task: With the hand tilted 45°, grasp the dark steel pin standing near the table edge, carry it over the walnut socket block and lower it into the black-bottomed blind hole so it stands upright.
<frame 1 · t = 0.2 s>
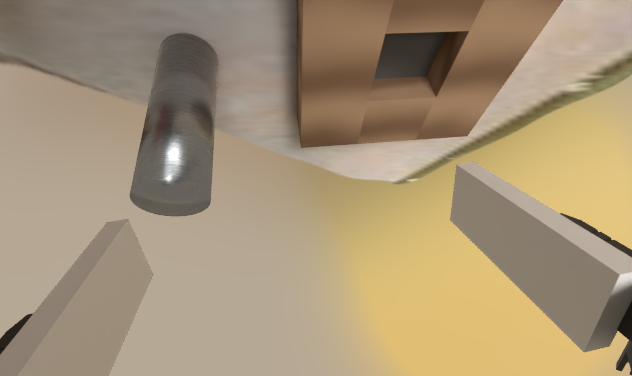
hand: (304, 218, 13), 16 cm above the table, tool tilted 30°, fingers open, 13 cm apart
socket block: (400, 39, 24), on the table
steel pin: (189, 58, 23), on the table
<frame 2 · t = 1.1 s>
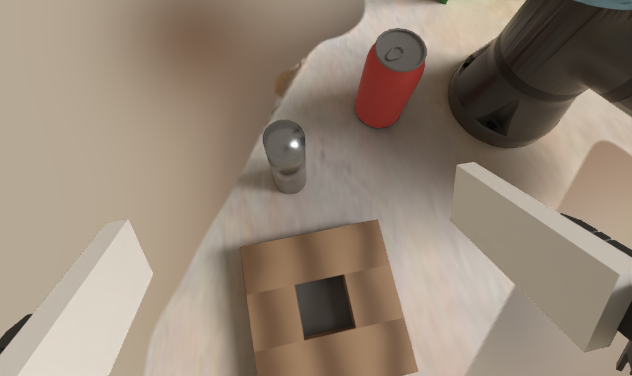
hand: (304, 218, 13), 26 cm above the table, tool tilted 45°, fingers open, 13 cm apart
socket block: (323, 304, 36), on the table
steel pin: (290, 179, 41), on the table
beer can: (376, 110, 45), on the table
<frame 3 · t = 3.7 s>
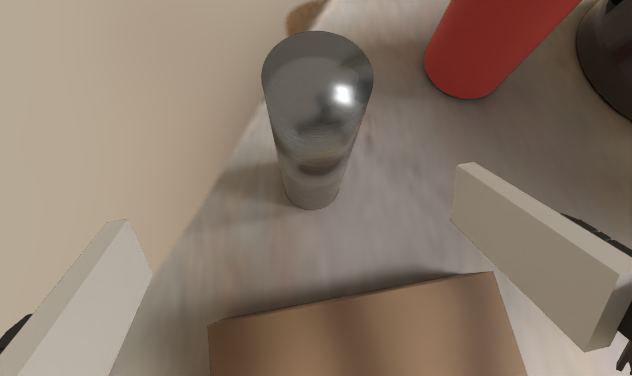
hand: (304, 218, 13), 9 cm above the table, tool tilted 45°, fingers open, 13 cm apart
steel pin: (311, 183, 23), on the table
beer can: (458, 70, 26), on the table
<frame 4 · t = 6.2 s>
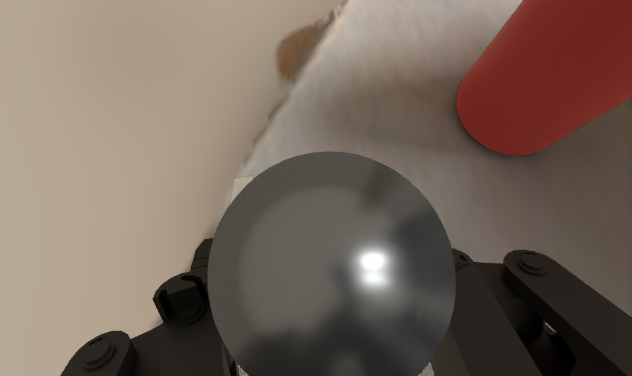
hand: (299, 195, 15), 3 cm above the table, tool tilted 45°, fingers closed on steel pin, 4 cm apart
steel pin: (311, 280, 16), on the table, touching gripper
beer can: (499, 114, 20), on the table
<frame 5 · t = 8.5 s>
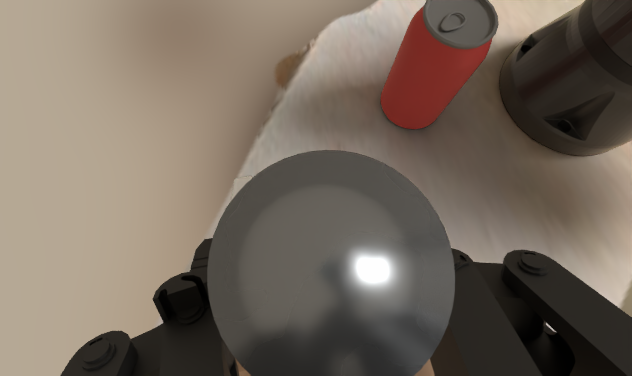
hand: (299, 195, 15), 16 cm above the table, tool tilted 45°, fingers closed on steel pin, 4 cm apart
steel pin: (311, 280, 16), point 12 cm above the table, touching gripper
beer can: (408, 106, 34), on the table
when the fingers open (5 cm above the table, at t = 11.0 s): steel pin stays where it is, resting on socket block.
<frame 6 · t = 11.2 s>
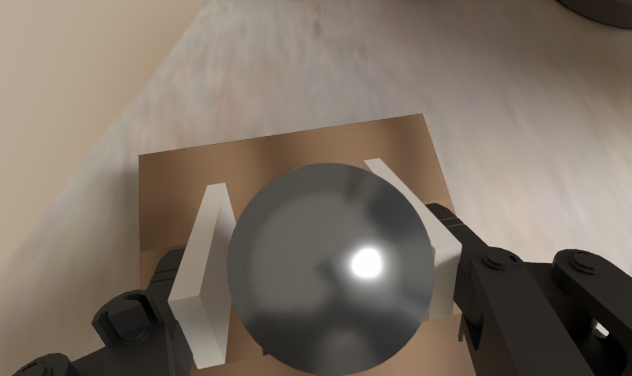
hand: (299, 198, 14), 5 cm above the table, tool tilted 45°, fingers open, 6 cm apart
socket block: (310, 281, 18), on the table
steel pin: (312, 281, 17), point 1 cm above the table, touching socket block
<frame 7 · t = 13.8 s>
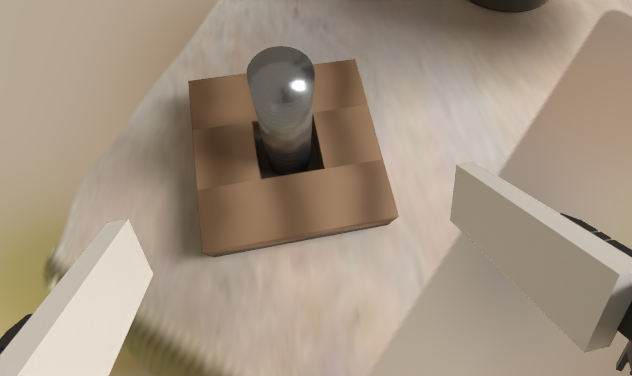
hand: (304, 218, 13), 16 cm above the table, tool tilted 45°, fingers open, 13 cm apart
socket block: (289, 160, 31), on the table
steel pin: (289, 156, 30), point 1 cm above the table, touching socket block
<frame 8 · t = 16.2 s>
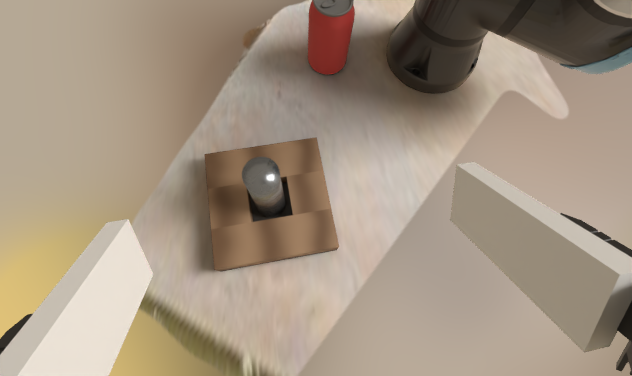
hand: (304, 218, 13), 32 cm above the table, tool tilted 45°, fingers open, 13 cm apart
socket block: (271, 205, 45), on the table
steel pin: (271, 203, 44), point 1 cm above the table, touching socket block
beer can: (326, 61, 54), on the table
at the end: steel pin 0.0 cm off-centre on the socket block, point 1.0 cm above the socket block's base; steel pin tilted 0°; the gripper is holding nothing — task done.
